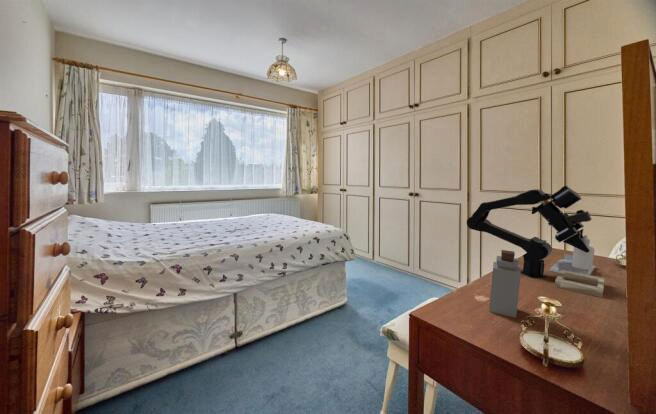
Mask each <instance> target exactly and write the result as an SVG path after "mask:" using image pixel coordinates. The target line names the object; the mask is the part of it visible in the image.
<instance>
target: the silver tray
mask: <svg viewBox="0 0 656 414" xmlns="http://www.w3.org/2000/svg"><path fill="white" fill-rule="evenodd" d="M563 254H564V256H563V258H560V259H559V260H557V261H555V263H554V264H553V265H552V266H550V267H549V271H550V272H554V273H558V274H559V272H560V271H561V270H566V271H571V272H576V273H581V274H586V275H592V274H593V271H594V270H595V268H596V265H594V264H593V266H592V269H591V270H587V269H580V268H576V267H573V266H572V258H573V255H571V254H568V253H563Z"/></svg>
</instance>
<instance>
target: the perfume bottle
mask: <svg viewBox="0 0 656 414" xmlns="http://www.w3.org/2000/svg"><path fill="white" fill-rule="evenodd" d="M515 255H516V254H515V251H513V250H506V249H501V255H496V261H493V265H492V273H491V274H492V276H491V288H490V299H489V307H488V312H489V313H491V314H492V313H493V314H495V315H496V314H497V315H502V316H506V317H511V318H513V319H514V318H515V319H516V318H517V313H518V304H519V295H520V293H519V292H520V287H521V286H520V284H521V274H522V273H521V271H522V270H521V266H520V265H519V258H517V257H516V258H515Z"/></svg>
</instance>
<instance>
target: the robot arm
mask: <svg viewBox="0 0 656 414" xmlns="http://www.w3.org/2000/svg"><path fill="white" fill-rule="evenodd" d="M581 200H583V199H582V197H581V196H580V195H579V194H578V192H576V191H575V190H573V189H572V188H571V187H569V186H568V185H564V186H563V187H561V188H560V189H559V190H557V191H556V192H554V193H553V194H552V193H547V192H544V191H543V190H542V189H537V188H535V189H530V190H527V191H525V192H522V193H519V194H517V195H515V196H510V197H504V198H502V199H497V200H492V201H484V202H482V203H480V204H479V206H478V207H477V209H476V210H475V211H474V212H473V214H472V215H470V217H468V218H467V219H466V225H467V227H468V229H469V230H473V231H477V232H482V233H483V232H484V233H487V234H489V235H492V236H494V237H497V238H498V239H501V240H503V241H506V242H508V243H510V244H512V245H514V246H516V247H519V248H521V249H522V250H524V252H526V253H524V254H523V255H522V257H523V264H522V265H523V268H522V270H520V271H521V274H523V275H525V276H527V277H530V278H546V277H547V275H546V274H544V271H545V260H544V259H545V258H546V259H547V257H549V256H550V255H551V254H552V253H553V248H552V246H551V244H550V243H549V242H547V240H546V239H545V240H543V239H541V238H540V237H537V236H533V237H531V238H528V237H525V236H523V235H520V234H518V233H516V232H513V231H510V230H509V229H505V228H503V227H500V226H498V225H496V224H493V223H492V222H491V221H490V220H489V219H488V217H489V214H490V212H491V211H492V210H497V209H502V208H508V207H513V206H527V205H528V206H531V205H532V207H531V215H534V214H536V213H539V215H541V216H542V217H543V218H544V219H545V220H546V221H547V222H548V223H547V225H548V226H551V227H552V228H553V229H554V230H555V231H556V234H555V236H554V239H555V241H557V242H558V243H565V244H567V245H569V246H571V247H573V248H574V247H576V248H578V249H580V250H582V251H584V252H586V253H587V252H589V251H590V250H589V249H588V247H587V246H586V245H585V243H584V242H583V241H582V239H581V238H584V235H583V234H584V230H585V229H584V224H583V222H585V223H586V222H591V220H593V219H592V218H591V214H590V213H589V211H587V210H586V211H584V210H583V209H579V210H576V213H575V214H571V215H569V214H568V213H565V212H563V211H562V210H561V209H565V210H566V209H568V208H569V207H571V206H572V205H574V204H576V203H578V202H579V201H581ZM546 201H549V202H547V203H545V202H546ZM538 204H539V205H538ZM534 205H538V206H534Z"/></svg>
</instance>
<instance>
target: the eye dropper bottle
mask: <svg viewBox="0 0 656 414" xmlns="http://www.w3.org/2000/svg"><path fill="white" fill-rule="evenodd" d="M583 236H584V238H581V239H582V241H583V242H584V243H585V245H586V246H587V247H588V249H589V250H590V251H589V252H587V253H586V252H584V251H582V250H580V249H578V248H576V247H574V246H573V250H572V251H573V252H572V256H573V258H572V266H573V267H576V268H580V269H587V270H591V269H592V266H593V265H594V257H595V248H594V247H593V246H591V245H590V241H591V240H590V239H589V238H588V235H587V234H584V235H583Z"/></svg>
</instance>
